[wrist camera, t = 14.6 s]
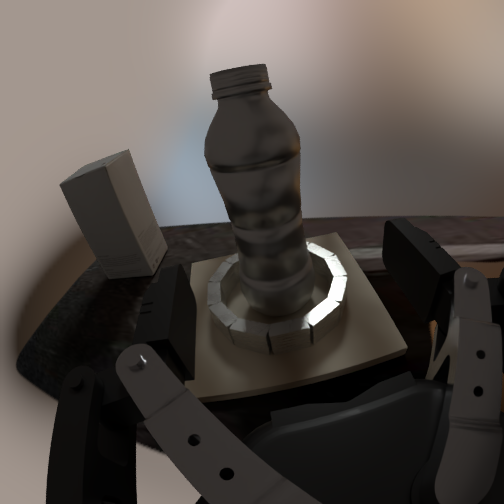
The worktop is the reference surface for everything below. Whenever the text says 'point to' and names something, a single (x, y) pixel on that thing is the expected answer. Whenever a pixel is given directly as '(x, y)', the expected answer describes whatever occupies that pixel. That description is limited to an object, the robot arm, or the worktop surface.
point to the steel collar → (286, 332)
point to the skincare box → (116, 216)
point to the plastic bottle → (260, 190)
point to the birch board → (296, 362)
